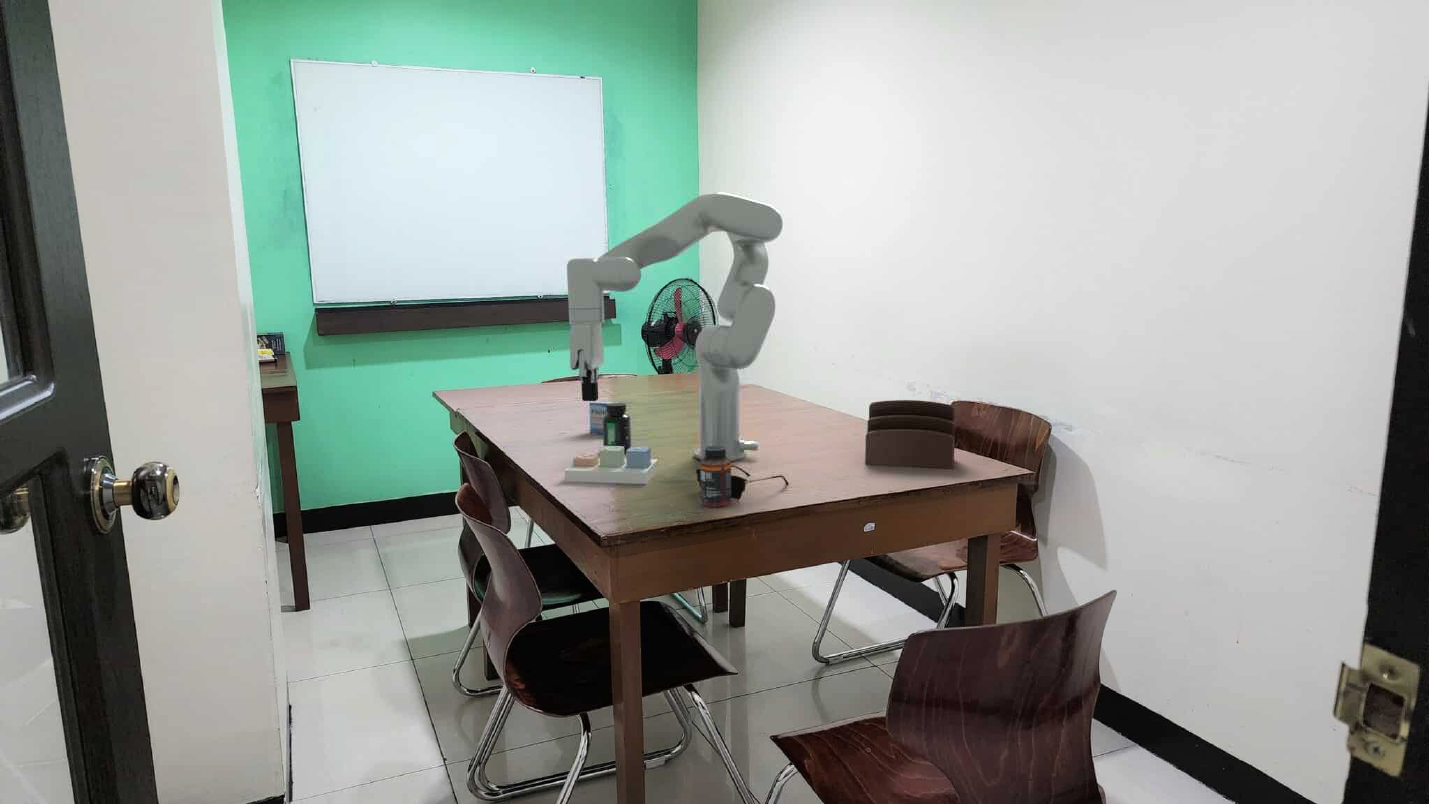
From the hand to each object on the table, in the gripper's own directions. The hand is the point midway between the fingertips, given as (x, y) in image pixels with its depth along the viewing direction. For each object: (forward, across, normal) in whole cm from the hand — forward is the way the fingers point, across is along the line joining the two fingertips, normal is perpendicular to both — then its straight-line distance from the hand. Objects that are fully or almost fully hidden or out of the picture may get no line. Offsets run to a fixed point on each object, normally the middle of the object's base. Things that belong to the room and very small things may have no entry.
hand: (590, 400), depth 189 cm
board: (+17, 0, +4) cm, 17 cm away
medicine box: (+17, -45, -10) cm, 49 cm away
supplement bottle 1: (+17, -23, -1) cm, 29 cm away
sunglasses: (+18, +6, +35) cm, 39 cm away
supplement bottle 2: (+17, +19, +31) cm, 40 cm away
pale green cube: (+15, 0, +4) cm, 15 cm away
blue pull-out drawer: (+15, 0, +10) cm, 18 cm away
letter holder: (+18, -21, +70) cm, 75 cm away
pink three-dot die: (+17, 0, -2) cm, 17 cm away
